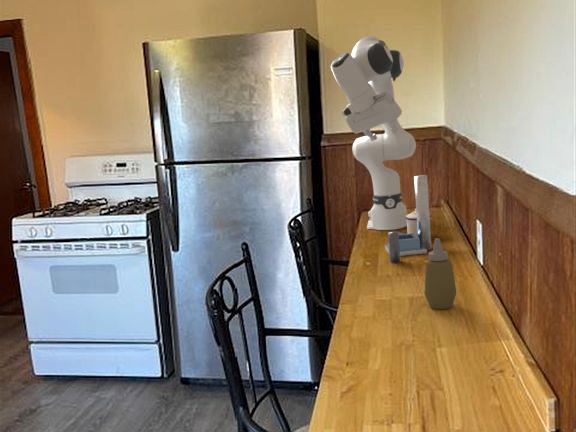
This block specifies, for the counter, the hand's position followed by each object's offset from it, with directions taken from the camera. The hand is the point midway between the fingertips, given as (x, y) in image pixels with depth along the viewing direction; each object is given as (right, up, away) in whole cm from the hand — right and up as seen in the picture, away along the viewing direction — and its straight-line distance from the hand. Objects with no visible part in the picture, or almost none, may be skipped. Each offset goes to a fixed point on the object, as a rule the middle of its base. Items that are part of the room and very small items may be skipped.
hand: (385, 136), depth 199 cm
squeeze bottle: (+7, -50, -45) cm, 68 cm away
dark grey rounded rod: (+3, -42, 0) cm, 42 cm away
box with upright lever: (+11, -38, +15) cm, 43 cm away
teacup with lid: (+18, -35, +29) cm, 49 cm away
